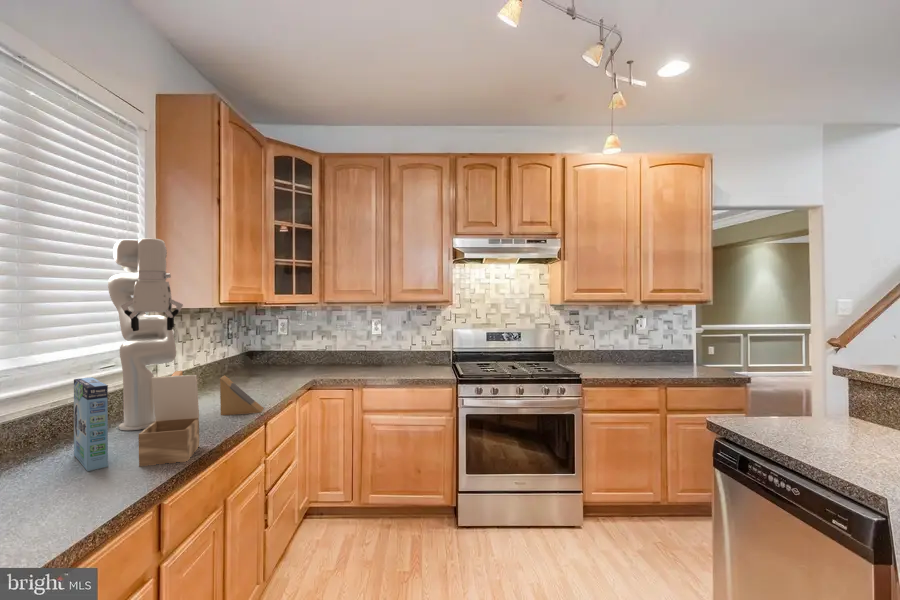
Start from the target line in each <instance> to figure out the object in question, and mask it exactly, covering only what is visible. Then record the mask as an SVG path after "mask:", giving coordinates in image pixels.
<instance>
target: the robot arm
mask: <svg viewBox="0 0 900 600" xmlns="http://www.w3.org/2000/svg"><path fill="white" fill-rule="evenodd" d="M112 250H113V252H112V255H113V259H114V261H115V263H116V264H117V265H119V266H120V267H121V268H122V269H123V271H125V272H128V273H118V274H114V275H112V276H111V277H109V279H108V282H107V290H108V294H109V298H110V300H111V302H112V304H113V306H114V307H115V309H116V310H117V312H118V318H119V324H120V331H121V336H122V338H123V339H124V340H125V341H124V342H123V343H122V344H121V345H120V346H119V358H120V362H121V369H122V387H123V388H122V390H123V391H122V392H123V422H122V423H120V424H119V425H118V429H119V431H139V430H144V429H146V428H147V427H148V426H150V425H151V424H152V423H154V422H155V410H154V399H153V388H152V377H155V375H154V373H152V372H151V371H150V369H148V368H147V366H151V365H161V364H169V363H172V362H174V360H175V359H176V357H177V348H176V341H175V336H174V332H173V328H175V318H176V316H177V315H179V313H180V312H181V310H182V308H183V307H184V304H183V303H181V302H179V301H177V300H174V299H172V291H171V285H170V282H169V281H167V279H171V278H172V277H171V276H172V275H171V273H167V256H168V255H167V254H168V252H167V251H168V250H167V247H166V243H165V241H164V240H162V239H159V238H152V237H151V238H149V237H148V238H147V237H145V238H140V239H130V238H129V239H128V238H127V239H126V238H125V239H123V238H122V239H119V240H117V241H116V243H115V244H114V245H113V249H112ZM173 305H174V306H176V307H175V309H174V310H173V311H172V309H173ZM146 313H165V314H166V316H167V317H166V316H165V315H147V314H146Z"/></svg>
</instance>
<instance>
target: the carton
mask: <svg viewBox="0 0 900 600" xmlns="http://www.w3.org/2000/svg"><path fill="white" fill-rule="evenodd" d="M137 437H138V467H145V466H146V467H147V466H148V465H149V466H156V464H159V465H166V464H165V463H169V464H176V462H180V463H187V462H188V461H189V460H190V459H191V458H192V457H193V455H194V454H195V453H196V451H197V450H198V449H199V448H200V417H199V418H192V419H178V420H165V421H155V422H154V423H152V424H151V425H150V426H148V427H147V428H146V429H142V431H140V432H139V433H138V435H137ZM198 447H199V448H198ZM194 452H195V453H194ZM190 457H191V458H190ZM186 461H187V462H186Z"/></svg>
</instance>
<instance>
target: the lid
mask: <svg viewBox="0 0 900 600" xmlns="http://www.w3.org/2000/svg"><path fill="white" fill-rule="evenodd" d="M152 388H153V399H154V410H155V421H165V420H178V419H192V418H199V419H200V409H199V407H200V406H199V391H198V380H197V374H188V375H183V370H175V371H174V372H173V373H172V374H171V375H169V376H168V375H166V376H154V377H152Z"/></svg>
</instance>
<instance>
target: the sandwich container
mask: <svg viewBox="0 0 900 600" xmlns="http://www.w3.org/2000/svg"><path fill="white" fill-rule="evenodd" d="M219 389H220V390H219V397H220V398H219V399H220V400H219V401H220V416H230V415H231V416H232V415H245V414H257V413H258V414H259V413H262V412H263V410H264V407H263V406H262V405H261V404H259V403H258V402H257V401H256V400H254V398H252V397H251V396H250V395H249V394H247V392H245V391H244V390H243V389H241V387H239V386H238V385H237V384H236V383H235V382H233V381H232V379H230V378H229V377H228V376H226V375H225V374H224V375H223V376H221V377H220V378H219Z"/></svg>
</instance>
